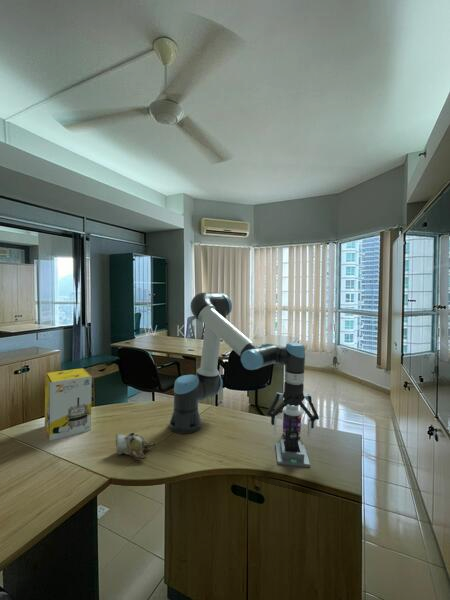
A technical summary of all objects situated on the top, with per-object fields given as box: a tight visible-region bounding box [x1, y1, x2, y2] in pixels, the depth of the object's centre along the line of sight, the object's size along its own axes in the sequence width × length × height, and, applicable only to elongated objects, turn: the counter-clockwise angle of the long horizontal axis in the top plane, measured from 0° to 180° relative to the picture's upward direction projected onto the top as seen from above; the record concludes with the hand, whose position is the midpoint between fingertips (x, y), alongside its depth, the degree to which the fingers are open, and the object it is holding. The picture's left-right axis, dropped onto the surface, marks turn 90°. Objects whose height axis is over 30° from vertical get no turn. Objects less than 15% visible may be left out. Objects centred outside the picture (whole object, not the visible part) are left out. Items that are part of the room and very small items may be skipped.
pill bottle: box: [282, 405, 302, 437], centre depth 131 cm, size 8×8×14 cm
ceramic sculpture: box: [115, 432, 156, 460], centre depth 112 cm, size 11×9×15 cm
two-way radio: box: [284, 417, 300, 452], centre depth 115 cm, size 6×4×15 cm
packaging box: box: [44, 367, 93, 442], centre depth 131 cm, size 16×16×25 cm
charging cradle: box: [274, 439, 311, 468], centre depth 115 cm, size 12×14×4 cm
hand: (291, 434), depth 115 cm, fingers open, 13 cm apart
